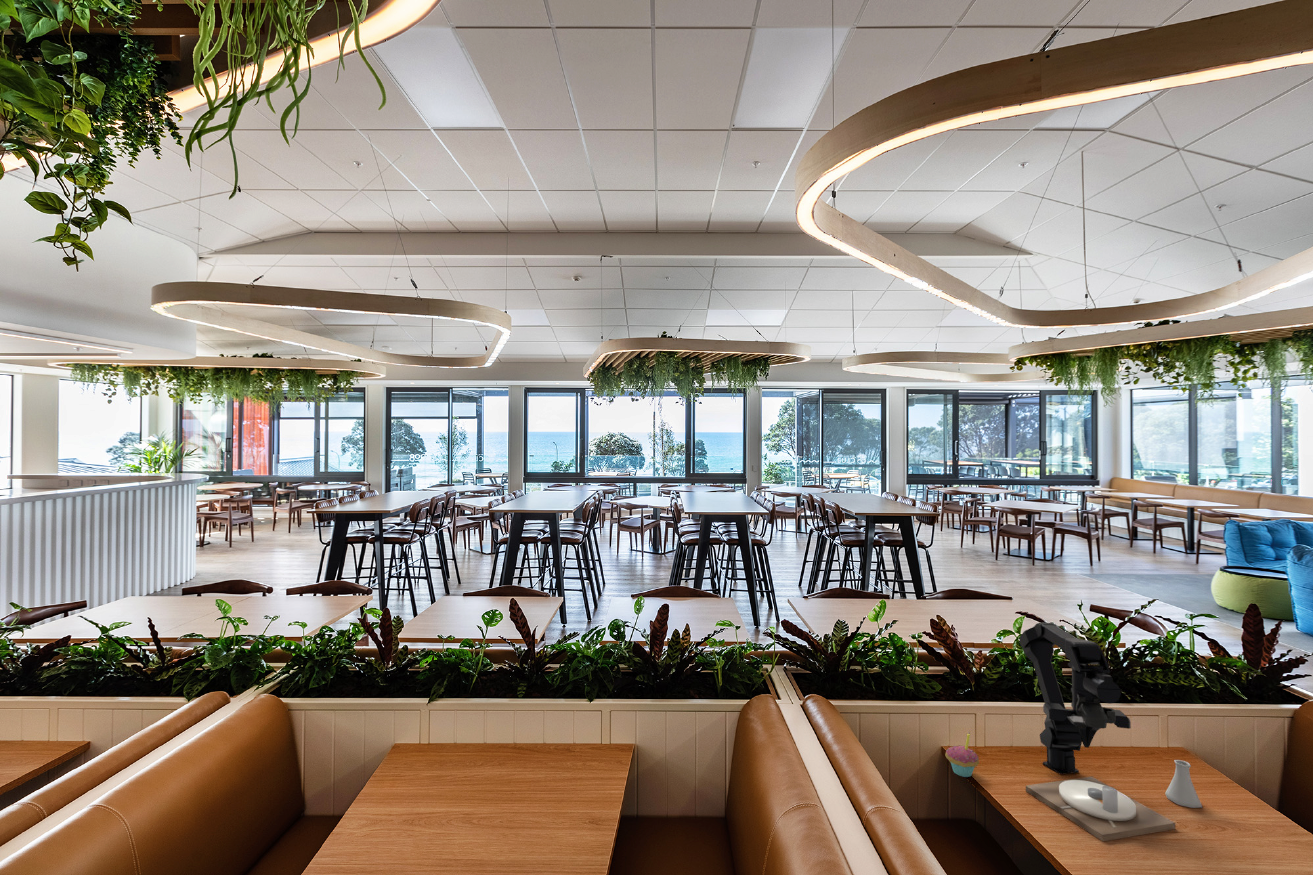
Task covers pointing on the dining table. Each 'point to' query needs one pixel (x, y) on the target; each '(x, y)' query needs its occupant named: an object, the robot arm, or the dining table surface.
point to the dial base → (1099, 827)
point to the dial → (1097, 800)
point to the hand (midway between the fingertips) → (1086, 746)
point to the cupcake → (962, 759)
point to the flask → (1183, 787)
